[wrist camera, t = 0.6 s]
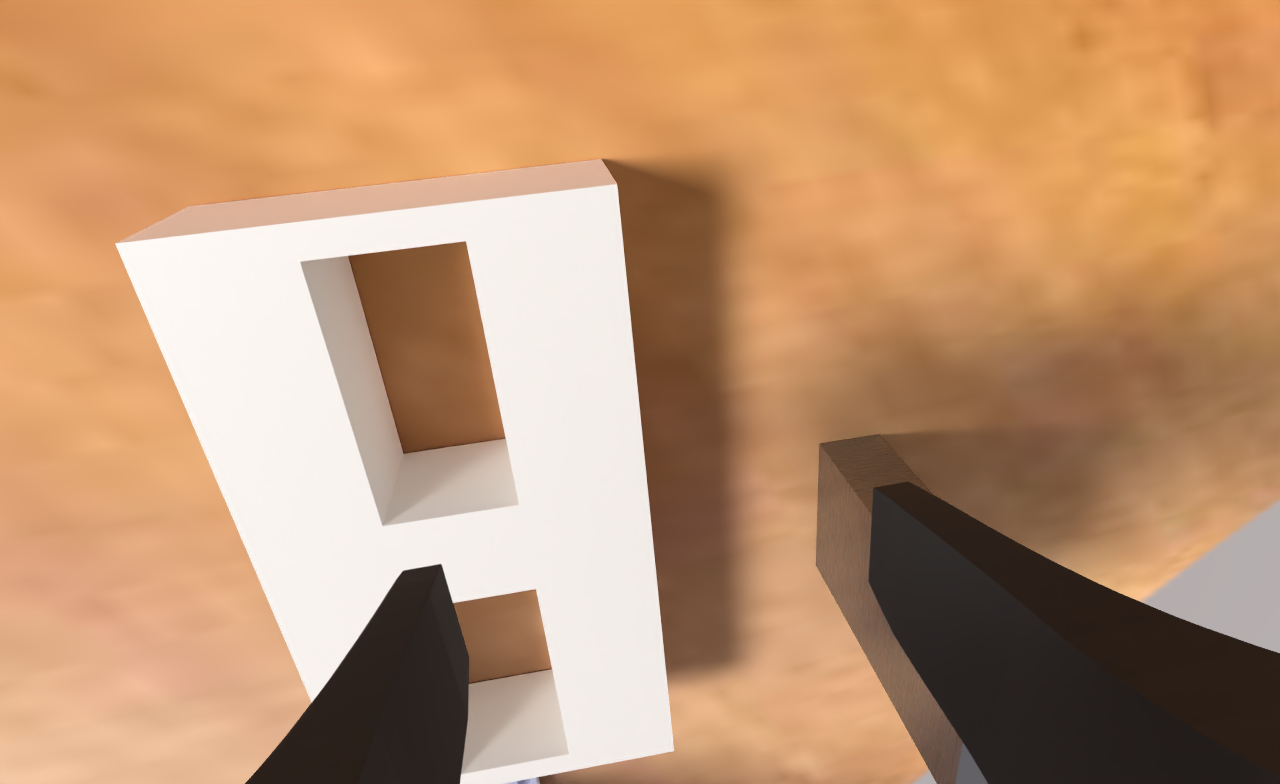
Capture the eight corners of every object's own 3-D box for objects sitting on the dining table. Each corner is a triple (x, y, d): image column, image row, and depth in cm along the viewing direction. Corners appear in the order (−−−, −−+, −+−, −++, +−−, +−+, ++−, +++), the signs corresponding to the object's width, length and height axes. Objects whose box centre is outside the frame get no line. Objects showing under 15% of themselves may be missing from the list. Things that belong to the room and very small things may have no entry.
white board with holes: (656, 666, 26) (674, 751, 23) (378, 716, 25) (358, 811, 22) (600, 158, 18) (617, 184, 15) (188, 206, 17) (115, 243, 14)
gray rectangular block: (870, 555, 25) (1028, 792, 17) (815, 564, 25) (950, 808, 17) (879, 434, 23) (1066, 643, 15) (819, 443, 23) (976, 659, 15)
